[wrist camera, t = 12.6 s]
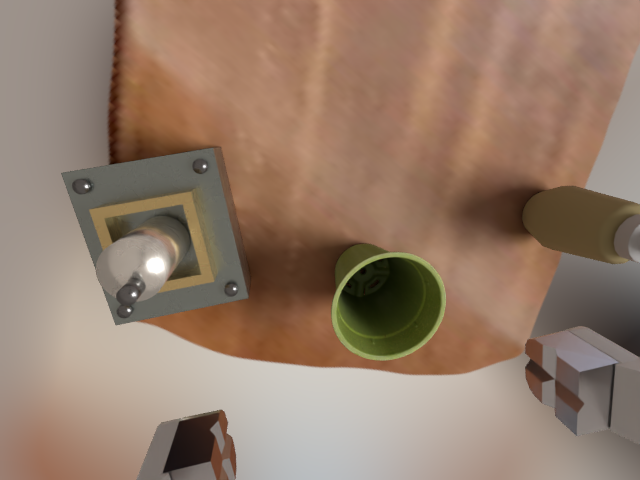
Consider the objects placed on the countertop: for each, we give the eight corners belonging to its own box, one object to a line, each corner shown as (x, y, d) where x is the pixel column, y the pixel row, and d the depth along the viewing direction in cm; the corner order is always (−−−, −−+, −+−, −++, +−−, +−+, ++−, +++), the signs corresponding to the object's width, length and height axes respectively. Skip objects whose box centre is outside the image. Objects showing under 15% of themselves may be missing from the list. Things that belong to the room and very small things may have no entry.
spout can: (130, 221, 35) (72, 256, 25) (181, 211, 36) (145, 241, 25) (146, 268, 37) (97, 320, 26) (195, 258, 37) (166, 305, 27)
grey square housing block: (91, 168, 39) (45, 175, 31) (220, 146, 40) (208, 148, 32) (135, 301, 44) (105, 337, 36) (251, 278, 45) (247, 308, 37)
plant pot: (303, 298, 47) (313, 345, 36) (337, 212, 44) (359, 235, 34) (384, 322, 49) (416, 373, 38) (420, 243, 47) (466, 273, 36)
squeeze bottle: (539, 170, 46) (698, 186, 29) (580, 202, 48) (752, 235, 31) (501, 223, 48) (633, 269, 30) (543, 252, 50) (689, 310, 32)
